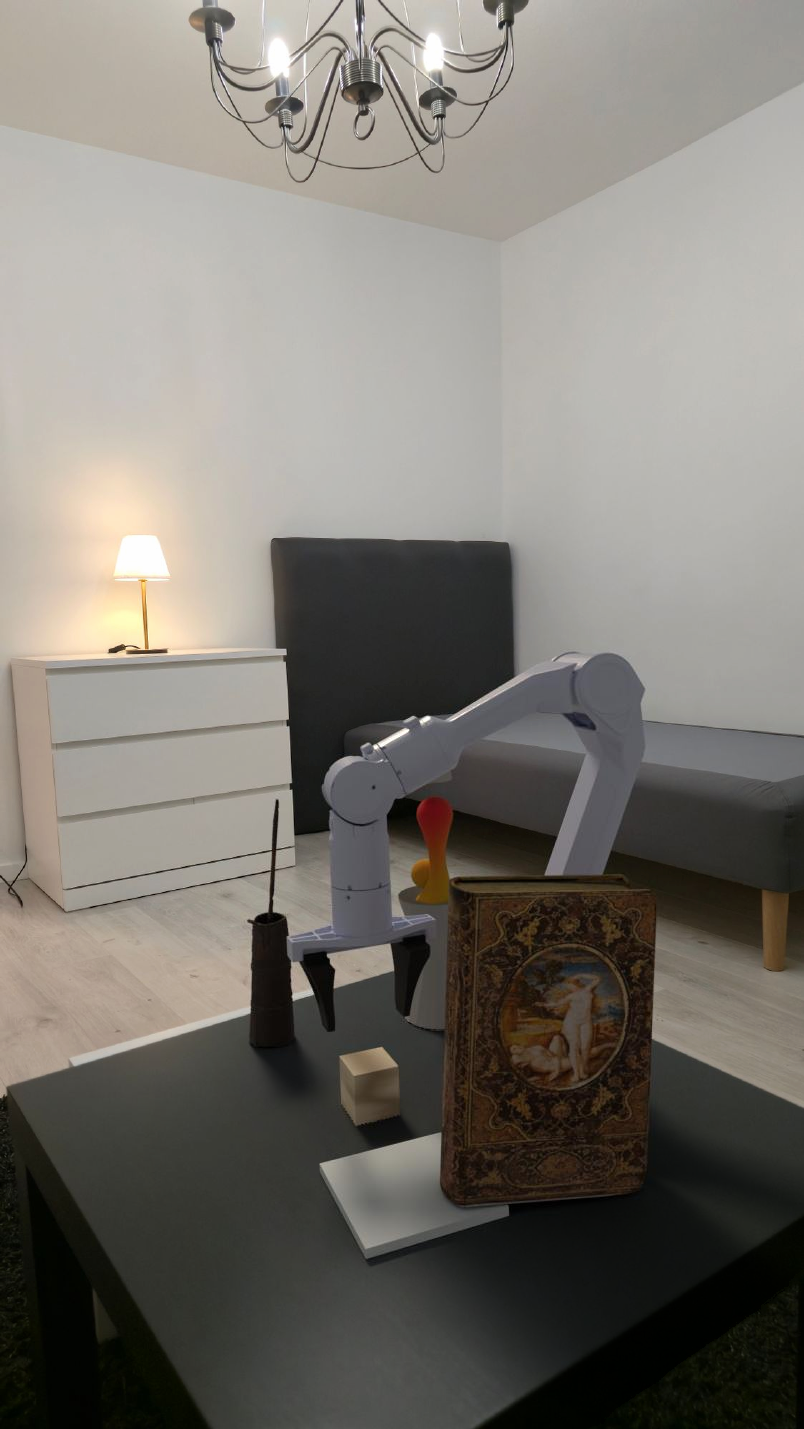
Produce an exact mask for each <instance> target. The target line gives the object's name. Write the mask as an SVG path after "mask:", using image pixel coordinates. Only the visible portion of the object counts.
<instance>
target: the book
mask: <svg viewBox="0 0 804 1429" xmlns="http://www.w3.org/2000/svg"><path fill="white" fill-rule="evenodd" d="M630 884H631V883H630V880H629V878H628V877H627V876H625V875H624V874H621V873H620V874H602V875H545V874H543V875H540V874H539V875H482V876H481V875H479V876H478V875H477V876H476V875H475V876H474V875H473V876H472V875H471V876H469V875H466V876H465V875H464V876H463V875H462V876H461V875H460V876H459V875H458V876H454V877H452V878H450V880H449V902H448V934H447V966H446V999H445V1030H443V1032H444V1036H443V1037H444V1038H443V1039H444V1040H443V1064H442V1065H443V1066H442V1067H443V1069H442V1070H443V1072H442V1095H441V1097H442V1098H441V1099H442V1100H441V1101H442V1102H441V1128H440V1130H441V1131H440V1132H441V1161H440V1187H441V1190H442V1192H443V1194H444V1195H445V1197H446V1198H447V1199H448V1200H449V1201H451V1202H452V1203H454V1204H456V1205H458V1206H460V1207H464V1208H465V1207H474V1206H487V1205H500V1204H507V1205H508V1204H509V1205H510V1204H511V1205H513V1204H521V1203H522V1204H523V1203H524V1204H525V1203H536V1202H550V1201H561V1200H563V1201H564V1200H573V1199H574V1200H575V1199H588V1198H600V1197H603V1198H604V1197H610V1196H611V1197H612V1196H618V1195H625V1194H632V1193H633V1194H634V1193H638V1192H639V1191H641V1189H642V1188H643V1187H644V1185H645V1181H646V1175H647V1174H646V1173H647V1168H648V1166H647V1165H648V1145H649V1122H650V1120H649V1118H650V1100H651V1099H650V1098H651V1097H650V1093H651V1091H650V1090H651V1073H652V1072H651V1066H652V1045H653V1041H652V1040H653V1020H654V1019H653V1018H654V1016H653V1014H654V996H655V995H654V994H655V993H654V992H655V989H654V988H655V970H656V969H655V967H656V966H655V965H656V941H657V940H656V939H657V915H658V914H657V911H658V908H657V907H658V904H657V895H656V893H655V892H654V891H652V890H650V889H647V888H644V889H643V888H642V889H640V888H639V889H637V888H635V887H631V885H630Z"/></svg>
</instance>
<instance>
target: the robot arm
mask: <svg viewBox="0 0 804 1429" xmlns="http://www.w3.org/2000/svg"><path fill="white" fill-rule="evenodd" d="M645 692H646V688H645V686H644V684H643V682H642V681H641V679H640V677H639V676H638V674H637V673H636V671H635V669H634V667H633V666H632V665H631V663H630V662H629V661H628V660H627V659H626V658H624V657H623V656H622V655H620V654H617V653H613V652H600V653H599V652H598V653H582V652H578V651H565V652H561V653H560V654H557V655H556V656H555V657H553V658H552V659H551V660H545V661H542V662H539V663H537V664H535V665H533V666H532V667H529V668H528V669H527V670H524V672H523V671H522V672H521V673H519V674H518V675H517V676H515V677H513V678H512V679H510V680H508V681H507V682H505V683H503V684H502V685H500V686H499V687H497V688H495V689H494V690H491V691H490V692H489V693H487V694H485V695H484V696H482V697H481V698H479V699H477V700H476V701H473V703H471V704H469V705H468V706H466V707H464V708H463V709H460V710H459V711H458V712H456V713H454V714H453V715H451V716H450V717H448V718H446V719H441V718H438V717H435V716H433V715H425V716H423V717H422V718H419V717H417V716H415V715H412V716H410V717H409V718H407V719H405V720H403V721H402V722H403V723H402V724H403V726H404V728H402V729H400V730H399V731H396V732H395V733H393V734H391V735H389V736H388V737H386V738H384V739H382V740H381V741H380V740H379V742H377V743H375V744H373V745H372V744H371V743H370V742H366V743H365V744H362V745H361V746H360V751H361V754H362V756H358V755H356V756H355V755H354V756H353V755H348V756H343V758H340V759H338V760H336V761H335V762H334V763H333V764H332V765H331V766H330V767H329V770H328V771H327V772H326V774H325V777H324V782H323V784H322V785H321V792H322V795H323V797H324V799H325V801H326V803H327V804H328V805H329V806H330V807H331V809H330V810H329V818H328V819H329V820H328V825H329V826H328V827H329V830H330V834H329V837H328V847H329V848H328V849H329V869H330V871H329V872H330V873H329V874H330V890H331V891H330V893H331V897H330V898H331V913H332V918H331V919H332V924H329V925H326V926H322V927H319V928H315V929H312V930H309V931H305V932H301V933H297V934H293V935H289V936H287V955H288V957H289V958H290V960H291V963H298V964H299V965H300V967H301V968H302V971H303V972H304V975H305V976H306V978H307V980H308V983H309V985H310V988H311V990H312V992H313V995H314V997H315V1000H316V1003H317V1007H318V1011H319V1016H320V1020H321V1025H322V1027H323V1028H324V1030H325V1031H326V1032H327V1033H332V1032H335V1031H336V1014H335V1004H334V1002H335V1001H334V989H335V976H336V968H335V967H334V966H333V965H332V963H331V959H330V957H329V956H328V955H331V954H337V953H341V952H348V951H353V950H360V949H365V948H371V947H377V946H378V947H379V946H382V945H388V944H389V945H390V949H391V950H390V951H391V956H392V963H393V970H394V971H393V972H394V1003H395V1010H396V1011H397V1012H398V1013H399V1014H400V1016H402V1017H403V1018H404V1017H407V1016H410V1011H411V1006H412V1001H413V996H414V992H415V989H416V985H417V982H418V980H419V977H420V974H421V972H422V970H423V968H424V966H425V964H426V962H427V960H428V959H429V957H430V952H431V949H430V945H429V944H428V943H427V942H426V939H434V938H436V920H435V919H434V918H433V917H431V916H430V915H428V914H424V915H416V916H405V915H403V916H402V915H401V916H399V915H397V916H393V912H392V909H393V906H392V888H391V885H392V884H391V881H392V880H391V860H390V855H391V854H390V836H389V833H388V820H387V819H388V818H387V815H388V813H389V812H390V810H391V809H392V807H393V805H394V801H395V800H396V799H398V800H399V799H403V798H405V797H406V796H408V795H410V794H412V793H413V792H415V791H417V790H418V789H420V788H422V787H424V786H426V785H427V784H430V783H429V782H431V781H433V780H434V779H436V778H438V777H440V776H441V775H443V774H445V773H447V772H448V771H450V770H453V769H455V768H456V767H457V766H458V764H459V760H460V757H461V755H462V751H463V750H464V749H465V748H467V747H469V746H471V745H473V744H475V743H477V742H478V741H481V740H483V739H484V738H486V737H489V736H491V735H492V734H494V733H496V732H498V731H500V730H503V729H504V728H506V727H508V726H510V725H513V724H514V723H516V722H517V721H520V720H522V719H524V718H526V717H528V716H529V715H533V714H535V713H545V714H546V713H551V714H554V713H555V714H561V716H563V717H564V718H565V719H566V720H567V721H568V722H569V723H570V724H571V725H572V726H573V728H574V730H575V732H576V733H577V735H578V738H579V739H580V741H581V742H582V745H583V746H584V748H585V751H586V754H585V756H584V760H583V762H582V765H581V768H580V771H579V774H578V778H577V780H576V783H575V786H574V789H573V792H572V794H571V798H570V799H569V803H568V806H567V808H566V812H565V815H564V817H563V821H562V824H561V826H560V830H559V832H558V835H557V838H556V840H555V844H554V847H553V848H552V853H551V855H550V858H549V861H548V863H547V865H546V866H547V867H546V870H545V872H544V875H604V871H605V869H606V866H607V862H608V859H609V856H610V854H611V851H612V847H613V845H614V842H615V840H616V837H617V834H618V831H619V827H620V825H621V822H622V820H623V816H624V813H625V810H626V808H627V804H628V803H629V799H630V796H631V793H632V790H633V787H634V784H635V782H636V779H637V776H638V773H639V769H640V766H641V764H642V761H643V758H644V755H645V751H646V739H645V731H644V730H645V729H644V721H643V712H642V704H641V703H642V702H643V697H644V695H645Z"/></svg>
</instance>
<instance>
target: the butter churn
mask: <svg viewBox="0 0 804 1429" xmlns="http://www.w3.org/2000/svg"><path fill="white" fill-rule="evenodd" d="M279 800H280V799H278V798H275V802H274V803H275V804H274V810H273V811H274V812H273V818H272V830H271V831H272V832H271V833H272V834H271V836H272V837H271V860H270V864H271V865H270V874H269V875H270V876H269V898H268V900H269V901H268V908H267V909H268V911H267V912H263V913H259V914H258V915H256V916H255V917H254V919H250V918H248V919H247V920H246V922H247V923H249V924H251V927H252V928H251V936H252V937H251V939H252V940H251V960H250V961H251V963H250V971H251V982H250V983H251V987H250V988H251V990H250V992H251V993H250V994H251V995H250V1004H249V1005H250V1009H249V1010H250V1014H249V1015H250V1016H249V1033H248V1034H249V1036H248V1041H249V1043H250V1044H251V1045H252V1046H254V1047H265V1048H267V1047H268V1048H269V1047H271V1048H272V1047H273V1048H279V1047H283V1046H286V1045H289V1044H291V1043H292V1042H293V1041H294V1040H295V1037H296V1036H295V1035H296V1034H295V1021H294V1020H295V1019H294V1018H295V1016H294V1006H293V1005H294V1004H293V1003H294V999H293V988H292V978H291V977H292V968H293V967H292V961H291V960H290V958H289V957H288V955H287V936H290V933H289V924H288V920H287V916H285V915H284V914H283V913H280V912H277V911H274V899H273V898H274V894H275V884H276V883H275V882H276V864H277V863H276V862H277V859H276V858H277V845H278V830H279V829H278V828H279V808H280V801H279Z"/></svg>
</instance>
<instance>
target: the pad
mask: <svg viewBox="0 0 804 1429" xmlns="http://www.w3.org/2000/svg"><path fill="white" fill-rule="evenodd" d="M440 1161H441V1131H440V1132H437V1133H434V1134H428V1135H425V1136H421V1137H417V1138H413V1139H410V1140H406V1141H402V1142H398V1143H394V1144H390V1145H386V1146H382V1147H378V1148H374V1149H369V1150H367V1151H362V1152H359V1153H355V1154H352V1155H351V1154H350V1155H347V1156H344V1157H339V1158H336V1159H332V1160H328V1161H324V1162H320V1163H319V1173H320V1176H321V1177H322V1179H323V1181H324V1183H325V1185H326V1187H327V1188H328V1190H329V1193H330V1194H331V1196H332V1199H333V1200H334V1202H335V1203H336V1205H337V1208H339V1211H340V1213H341V1215H342V1217H343V1219H344V1220H345V1222H346V1225H347V1226H348V1228H349V1230H350V1232H351V1234H352V1236H353V1237H354V1239H355V1241H356V1243H357V1245H358V1247H359V1249H360V1251H361V1252H362V1254H363V1257H364V1258H365V1260H368V1259H371V1258H374V1257H378V1256H381V1255H385V1254H387V1253H390V1252H394V1251H397V1250H401V1249H405V1248H406V1247H410V1246H413V1245H416V1244H420V1243H424V1242H427V1241H430V1240H434V1239H436V1238H440V1237H443V1236H446V1235H450V1234H451V1235H452V1234H453V1233H457V1232H461V1231H464V1230H467V1229H470V1228H472V1227H473V1228H474V1227H476V1226H480V1225H483V1224H486V1223H490V1222H493V1221H495V1220H499V1219H504V1218H506V1217H509V1216H510V1210H509V1209H510V1208H509V1205H508V1204H500V1205H487V1206H474V1207H465V1208H464V1207H460V1206H458V1205H456V1204H454V1203H452V1202H451V1201H449V1200H448V1199H447V1198H446V1197H445V1195H444V1194H443V1192H442V1190H441V1187H440Z"/></svg>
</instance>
